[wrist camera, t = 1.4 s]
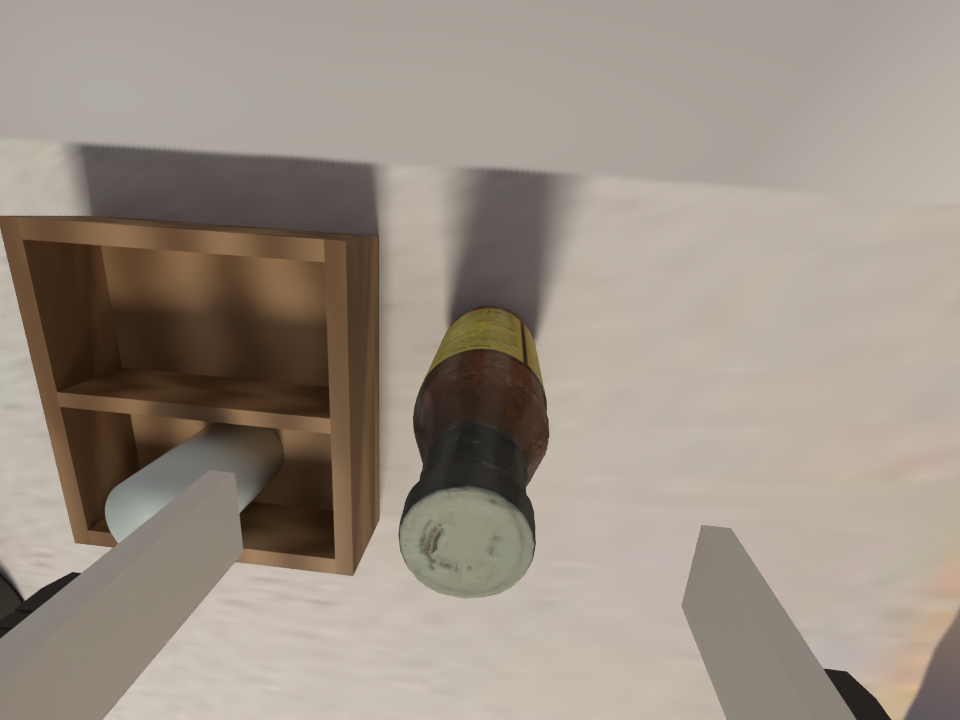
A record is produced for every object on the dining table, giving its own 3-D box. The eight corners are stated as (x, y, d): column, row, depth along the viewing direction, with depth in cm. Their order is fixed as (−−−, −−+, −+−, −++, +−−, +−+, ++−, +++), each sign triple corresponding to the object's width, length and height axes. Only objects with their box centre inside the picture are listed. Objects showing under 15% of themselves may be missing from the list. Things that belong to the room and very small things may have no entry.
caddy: (141, 494, 38) (74, 542, 33) (92, 216, 32) (-3, 215, 26) (379, 520, 37) (353, 576, 31) (378, 236, 30) (345, 240, 25)
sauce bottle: (427, 346, 32) (296, 528, 13) (491, 283, 31) (441, 389, 12) (493, 409, 33) (456, 661, 14) (558, 351, 32) (613, 550, 13)
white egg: (211, 479, 36) (114, 561, 27) (202, 408, 34) (96, 472, 26) (286, 487, 36) (211, 573, 27) (281, 416, 34) (199, 484, 25)
